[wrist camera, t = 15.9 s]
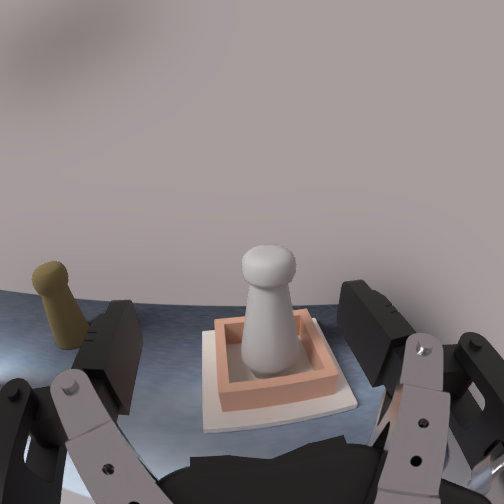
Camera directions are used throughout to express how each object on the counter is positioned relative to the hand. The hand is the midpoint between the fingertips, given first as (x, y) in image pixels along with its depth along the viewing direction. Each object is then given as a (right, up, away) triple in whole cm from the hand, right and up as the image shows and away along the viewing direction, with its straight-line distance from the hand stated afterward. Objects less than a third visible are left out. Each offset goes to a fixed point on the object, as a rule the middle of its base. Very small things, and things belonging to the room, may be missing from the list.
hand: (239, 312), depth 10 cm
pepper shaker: (-24, -10, +22) cm, 35 cm away
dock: (+2, -10, +18) cm, 21 cm away
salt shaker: (+2, -10, +17) cm, 20 cm away
